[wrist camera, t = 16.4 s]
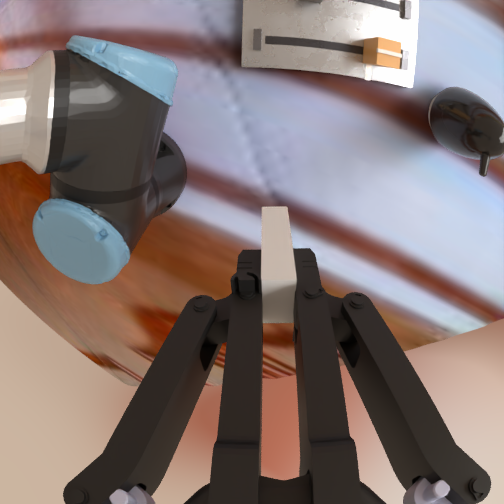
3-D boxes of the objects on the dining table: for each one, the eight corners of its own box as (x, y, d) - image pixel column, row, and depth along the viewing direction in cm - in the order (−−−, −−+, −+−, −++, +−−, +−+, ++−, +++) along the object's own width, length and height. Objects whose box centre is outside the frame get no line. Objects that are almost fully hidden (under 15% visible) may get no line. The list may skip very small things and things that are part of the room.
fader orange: (362, 62, 34) (377, 64, 28) (363, 38, 32) (379, 36, 26) (383, 67, 34) (400, 69, 28) (385, 43, 32) (403, 42, 26)
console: (242, 68, 37) (240, 68, 35) (245, -35, 28) (243, -41, 25) (406, 88, 37) (415, 90, 34) (412, -9, 27) (421, -12, 25)
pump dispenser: (410, 130, 40) (459, 165, 28) (430, 72, 34) (489, 86, 22) (456, 154, 41) (508, 194, 29) (477, 101, 35) (536, 126, 23)
